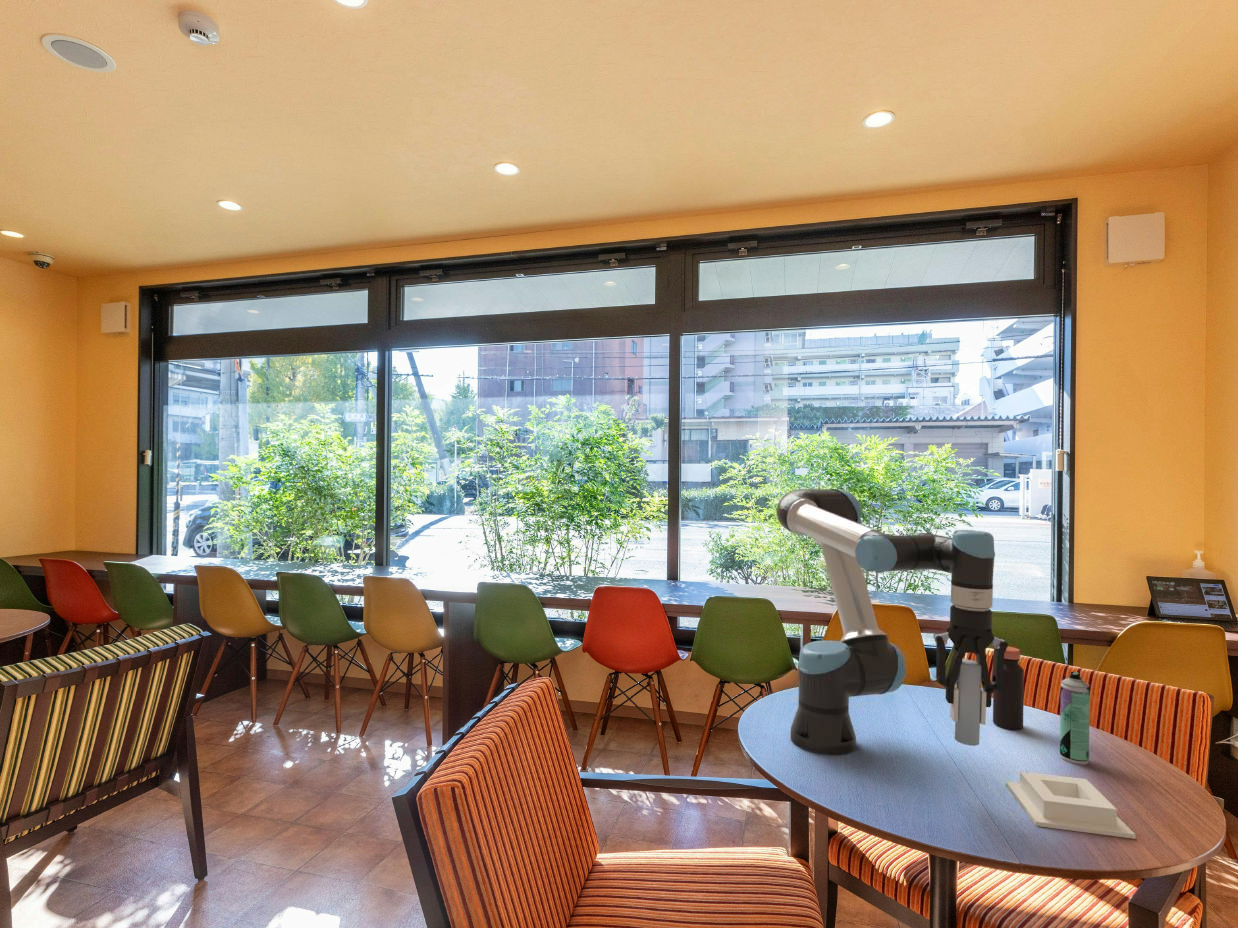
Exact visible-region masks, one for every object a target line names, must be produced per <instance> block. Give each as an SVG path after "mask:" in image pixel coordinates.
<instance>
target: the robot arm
mask: <svg viewBox="0 0 1238 928" xmlns="http://www.w3.org/2000/svg"><path fill="white" fill-rule="evenodd" d="M862 513H863V512H862V508H861V504H860V502H859V500H858V499H857V497H856V496H855V495H854V494H853V493H851V492H850V491H847V490H845V489H838V488H814V489H813V488H812V489H811V488H798V489H793V490H789V492H787V493H785V494H784V495H783V496H782V497H781V498H780V499H779V500H778V503H777V507H776V516H777V520H778V522H779V523H780V525H781V526H782V527H783V528H784V529H785V530H787V531H789V532H791V533H793V534H794V535H797V536H805V535H806V536H807V537H811V538H813V539H812V540H813V541H814V543H816V544H818V545H820V547H821V551H822V554H823V558H824V563H825V566H826V570H827V574H828V577H829V582H830V586H831V589H832V593H833V597H834V601H835V604H836V609H837V613H838V616H839V620H840V624H841V629H842V633H843V635H842V637H841V639H840V640H839V641H838V640H832V639H830V640H825V639H824V640H816V641H811V642H808V643H806V644H804V645H803V646H802V647H801V648H800V651H799V657H798V658H799V659H798V667H797V668H798V703H797V704H798V706H797V709H796V713H795V715H794V716H793V720H792V723H791V727H790V740H791V741H792V743H793V744H794V745H796V746H798V747H800V748H801V749H803V750H806V751H807V752H808V751H809V752H813V753H816V754H822V755H831V756H832V755H833V756H834V755H835V756H837V755H846V754H850V753H852V752H853V751H855V749H856V748H857V736H856V732H855V729H854V726H853V722H852V720H851V716H850V711H849V709H850V707H849V704H850V701H849V700H850V698H852V697H861V696H863V697H864V696H871V695H872V696H873V695H885V694H886V693H892V692H896V691H897V690H898V689H899V688H901V686H902V685H903V683H904V680H905V679H906V675H907V674H906V673H907V663H906V659H905V656H904V654H903V652H902V650H901V649H899V647H898V646H897V645H896V644H893V643H891V642H890V641H889V638H888V634H887V633H885V632H884V631H883V630H881V629H880V628H879V625H878V622H877V618H876V615H875V610H874V607H873V604H872V601H871V597H870V594H869V589H868V587H867V586H868V585H867V582H866V578H865V576H864V571H866V572H874V573H875V572H876V573H886V572H901V571H902V572H903V571H925V570H927V571H929V570H932V571H940V572H945V573H948V574H950V575H951V576H950V577H951V579H950V582H951V583H950V602H951V604H952V605H950V608H949V609H950V610H949V627H948V629H947V631H946V632H944V633H936V632H935V633H934V634H933V638H934V641H935V644H936V646H935V647H936V649H935V651H936V655H935V656H936V662H935V664H936V665H935V666H936V668H935V669H936V671H935V673H936V674H935V678H936V680H937V681H938V683H939V684H940V685H943V686H945V700H946V703H948V704H950V710H949V711H950V712H949V714H950V715H949V717H950V718H951V720H952V721H953V722H954V723H955V722H958V700H959V690H958V688H957V687H956V684H957V677H958V674H959V670H960V667H961V663H962V660H964V659H965V656H966V654H969V653H972V654H975V658H976V662H978V663H979V664H980V665H981V670H982V673H981V704H980V725H984V726H985V725H986V715H987V714H986V713H987V708H991V706H992V698H993V697H992V696H993V692H994V690H1001V689H1002V688H1003V670H1004V653H1005V651H1006V649H1007V647H1009V643H1008V642H1007V641H1006V640H1005V639H1004V638H998V637H996V636H994V634H993V629H992V628H993V611H992V610H991V608H992V607H993V599H994V598H993V597H994V595H993V592H994V590H993V589H994V583H993V582H994V568H995V567H994V566H995V557H996V553H995V539H994V536H993V534H992V533H990V532H987V531H983V530H973V529H957V530H954V532H953V533H952V536H951V537H950V536H945V535H938V534H933V533H931V532H915V533H913V534H910V535H909V534H907V535H902V534H901V535H898V534H895V535H892V534H887V533H884V532H882V531H879V530H877V529H874V528H872V527H869V526H867V525H865V524H862V523H861V522H862V519H861V518H862ZM863 570H864V571H863ZM949 639H950V641H951V642H952V644H953V645H954V647H953V654H952V657H951V660H950V664H949V666H948V671H946V670H947V669H946V668H947V667H946V664H947V661H946V658H947V657H946V655H947V654H946V652H947V650H946V645H947V644H948V640H949ZM991 644H992V647H993V657H992V676H990V675H991V674H990V670H989V666H988V662H987V654H986V649H987V648H988V647H989V646H990V645H991ZM946 672H947V674H946ZM991 677H992V678H991Z"/></svg>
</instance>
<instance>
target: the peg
mask: <svg viewBox="0 0 1238 928" xmlns="http://www.w3.org/2000/svg"><path fill="white" fill-rule="evenodd" d="M981 673H982V670H981V665H980V664H979V663H978V662H977V660H976V661H975V660H971V659H963V660H962V663H961V667H960V670H959V674H958V677H957V681H956V684H955V686H956V687H957V688H958V690H959V700H958V722H955V721H954V723H955V724H954V740H955V741H956V742H958V743H960V744H962V745H965V746H971V747H973V746H974V747H975V746H978V745H979V746H980V733H981V732H980V730H981V729H980V727H981V723H980V704H981V688H982V682H981Z"/></svg>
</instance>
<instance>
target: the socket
mask: <svg viewBox="0 0 1238 928" xmlns="http://www.w3.org/2000/svg"><path fill="white" fill-rule="evenodd" d="M1005 787H1006V788H1007V789H1008V791H1010V793H1011V794H1012V796H1013V797H1014V799H1015V800H1016V801H1017V803H1018V804H1019V805H1020V806H1021V807H1022V810H1024V812H1025V814H1027V816H1028V818H1029V819H1030V820H1031V822H1033V824H1034V825H1035V827H1043V828H1048V829H1049V828H1050V829H1056V830H1057V829H1058V830H1064V831H1071V832H1072V831H1073V832H1081V833H1087V834H1088V833H1089V834H1096V835H1102V836H1110V837H1111V836H1112V837H1118V838H1126V839H1133V840H1135V839H1136V833H1135V832H1134V831H1132V830H1131V829H1130V828H1129V826H1127V824H1126V823H1124V822H1123V821H1122V820H1121V818H1119V817H1118V808H1116V807H1115V806H1114V805H1113V804H1112V803H1111V802H1110V801H1109V800H1108V799H1107V798H1106V797H1105V796H1104V795H1103V794H1102V793H1101V792H1100V791H1099V790H1098V789H1097V788H1096V787H1095V786H1094V785H1093V784H1092V783H1091V782H1090V781H1089V780H1087V778H1080V777H1070V776H1064V775H1054V774H1045V773H1038V772H1037V773H1036V772H1029V771H1019V782H1016V781H1008V780H1007V781H1006V780H1005Z"/></svg>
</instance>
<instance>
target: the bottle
mask: <svg viewBox="0 0 1238 928" xmlns="http://www.w3.org/2000/svg"><path fill="white" fill-rule="evenodd" d="M1020 658H1021V650H1020V648H1016V647H1013V646H1008V647H1007V649H1006V651H1005V653H1004V670H1003V688H1002V689H1001V690H994V692H993V693H992V696H993V697H992V722H993V724H994V725H996V726H998V727H999V728H1002V729H1006V730H1010V731H1011V730H1012V731H1019V730H1022V729H1023V727H1024V701H1025V700H1024V699H1025V698H1024V695H1025V694H1024V690H1025V670H1024V669H1023V667H1022V666H1021V665H1020V664H1019V661H1020Z"/></svg>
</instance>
